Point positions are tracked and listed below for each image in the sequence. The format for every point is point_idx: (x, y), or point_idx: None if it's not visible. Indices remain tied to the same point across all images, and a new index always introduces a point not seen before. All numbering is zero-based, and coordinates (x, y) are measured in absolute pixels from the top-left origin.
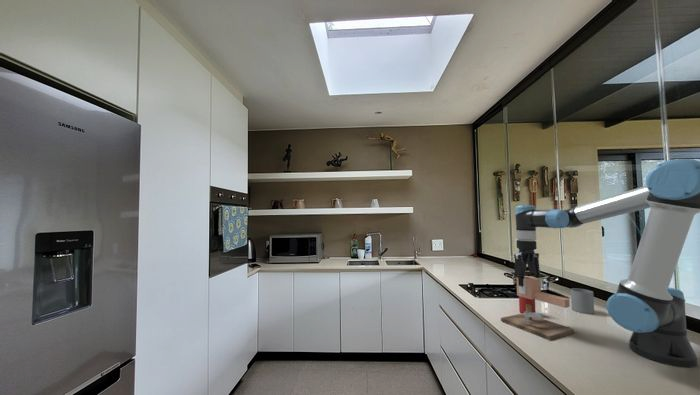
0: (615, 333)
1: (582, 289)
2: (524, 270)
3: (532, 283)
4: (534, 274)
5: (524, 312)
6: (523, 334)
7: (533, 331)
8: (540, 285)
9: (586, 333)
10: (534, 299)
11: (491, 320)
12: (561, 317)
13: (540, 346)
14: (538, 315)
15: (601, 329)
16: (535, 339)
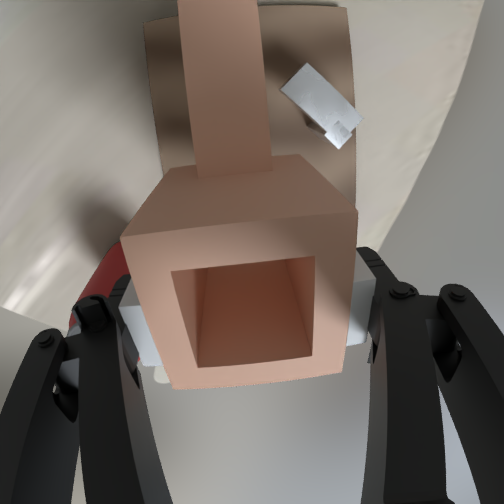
0: (6, 19)
1: None
2: (416, 374)
3: (309, 197)
4: (122, 348)
5: (337, 147)
6: (388, 90)
7: (350, 72)
8: (147, 201)
9: (100, 18)
10: (97, 279)
11: (374, 243)
12: (36, 189)
13: (417, 7)
14: (318, 74)
15: (10, 54)
16: (385, 41)
